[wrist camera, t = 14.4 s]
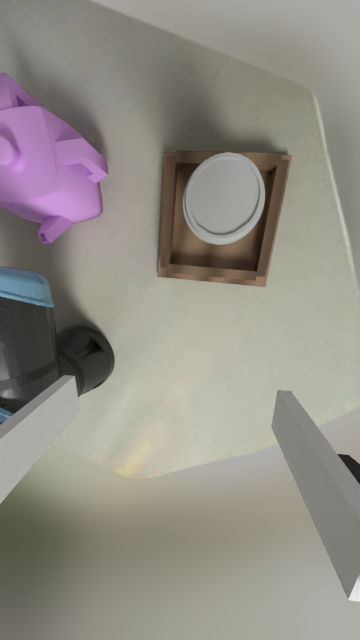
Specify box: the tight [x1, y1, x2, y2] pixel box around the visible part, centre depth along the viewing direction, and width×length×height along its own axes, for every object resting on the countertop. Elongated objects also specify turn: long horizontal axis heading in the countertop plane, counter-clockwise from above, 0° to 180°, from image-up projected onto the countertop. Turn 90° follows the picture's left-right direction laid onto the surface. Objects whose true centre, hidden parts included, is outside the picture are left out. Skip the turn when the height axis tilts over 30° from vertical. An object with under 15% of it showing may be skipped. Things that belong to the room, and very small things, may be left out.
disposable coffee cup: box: [183, 152, 265, 245], centre depth 27 cm, size 10×10×12 cm
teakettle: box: [0, 73, 109, 244], centre depth 30 cm, size 17×17×12 cm
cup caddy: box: [158, 151, 292, 287], centre depth 32 cm, size 20×20×4 cm
